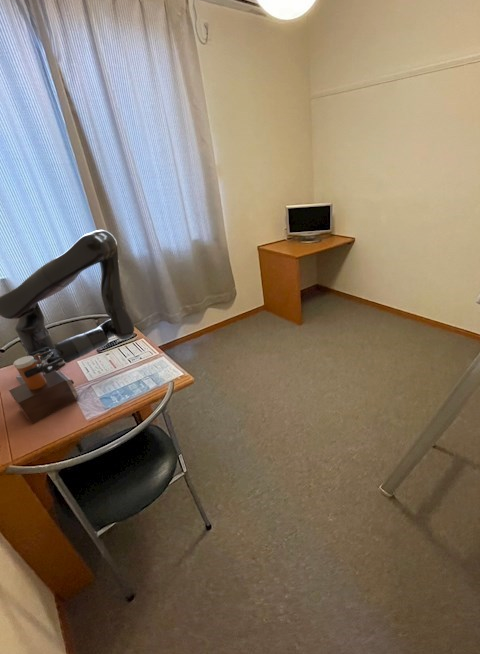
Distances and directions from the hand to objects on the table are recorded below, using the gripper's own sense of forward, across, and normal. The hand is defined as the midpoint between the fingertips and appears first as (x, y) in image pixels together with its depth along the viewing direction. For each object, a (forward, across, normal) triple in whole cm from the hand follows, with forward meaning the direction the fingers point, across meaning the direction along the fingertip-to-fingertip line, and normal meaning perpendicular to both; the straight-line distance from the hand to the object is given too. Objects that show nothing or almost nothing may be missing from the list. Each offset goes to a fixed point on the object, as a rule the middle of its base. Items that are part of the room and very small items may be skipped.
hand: (20, 370), depth 105 cm
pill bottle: (-2, 0, +7) cm, 7 cm away
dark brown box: (-2, 0, +16) cm, 16 cm away
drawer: (-4, 0, +15) cm, 16 cm away
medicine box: (-3, -13, +16) cm, 21 cm away
